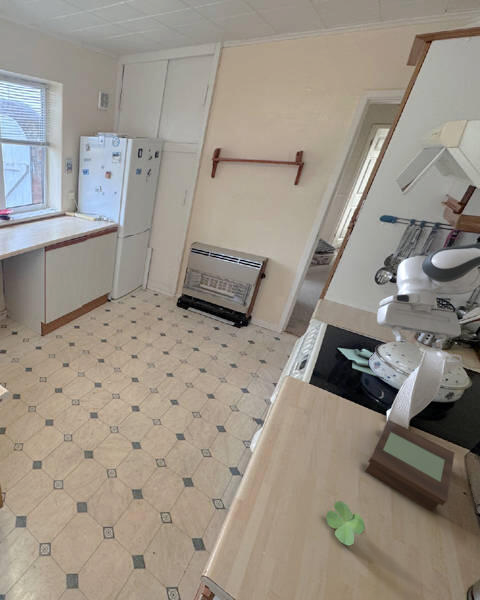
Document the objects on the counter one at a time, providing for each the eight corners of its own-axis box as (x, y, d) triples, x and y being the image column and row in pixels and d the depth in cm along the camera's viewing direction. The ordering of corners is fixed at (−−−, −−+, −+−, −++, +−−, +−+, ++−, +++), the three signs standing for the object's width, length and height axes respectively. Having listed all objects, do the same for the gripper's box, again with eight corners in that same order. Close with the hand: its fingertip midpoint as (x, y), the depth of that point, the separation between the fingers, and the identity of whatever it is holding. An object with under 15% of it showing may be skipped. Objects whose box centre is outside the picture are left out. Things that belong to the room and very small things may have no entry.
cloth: (404, 388, 117) (407, 383, 116) (333, 360, 130) (335, 355, 129) (403, 364, 131) (406, 359, 130) (339, 341, 144) (341, 337, 143)
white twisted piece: (413, 435, 97) (470, 361, 85) (382, 421, 101) (431, 349, 89) (411, 420, 103) (464, 349, 90) (381, 408, 107) (428, 338, 94)
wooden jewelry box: (380, 431, 98) (388, 419, 96) (443, 464, 88) (454, 452, 86) (361, 470, 85) (370, 457, 83) (434, 514, 76) (446, 501, 73)
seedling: (339, 542, 73) (325, 537, 71) (338, 503, 76) (324, 497, 74) (380, 556, 67) (366, 551, 65) (377, 513, 70) (363, 506, 68)
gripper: (446, 313, 104) (450, 354, 100) (373, 301, 109) (374, 340, 105) (465, 307, 98) (469, 350, 94) (387, 294, 103) (388, 335, 99)
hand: (418, 344), depth 100 cm, fingers open, 8 cm apart
